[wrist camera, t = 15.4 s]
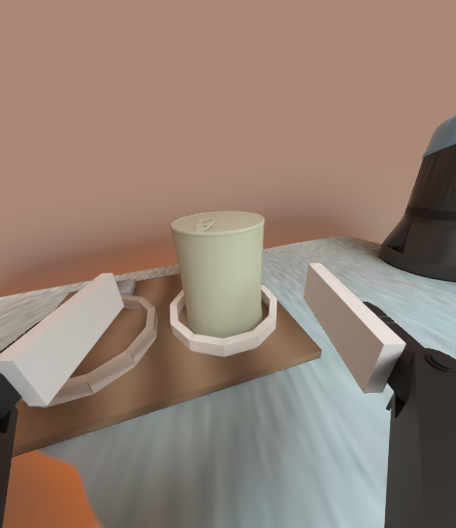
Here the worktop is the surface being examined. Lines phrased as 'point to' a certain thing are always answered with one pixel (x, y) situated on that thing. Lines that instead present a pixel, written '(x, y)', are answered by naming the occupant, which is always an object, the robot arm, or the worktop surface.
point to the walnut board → (150, 367)
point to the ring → (228, 344)
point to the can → (221, 270)
